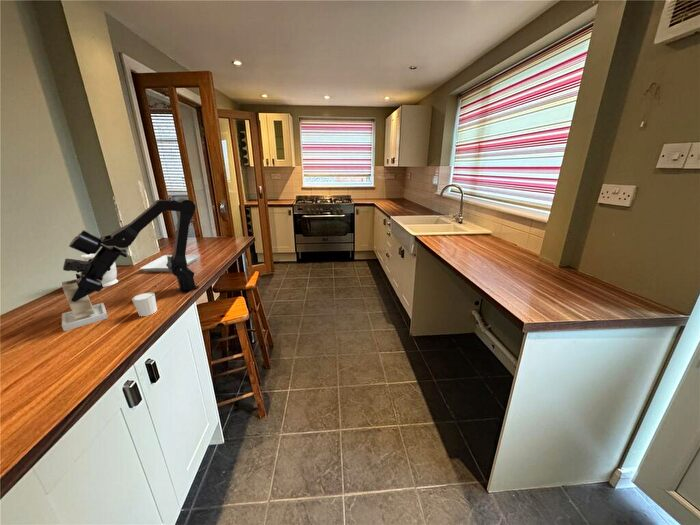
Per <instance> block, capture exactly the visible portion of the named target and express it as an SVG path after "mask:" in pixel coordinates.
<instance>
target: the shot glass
mask: <svg viewBox="0 0 700 525" xmlns="http://www.w3.org/2000/svg"><path fill="white" fill-rule="evenodd" d="M131 300H132V303H133V305H134V307H135V309H136V311H137V313H138V316H139V317H140V316H141V318H143V317H142V316H147V317H149V316H148V315H151V314H153V313H155V312H156V311H157V312H158V307H157V301H156V294H155V292H144V293H143V292H142V293H139V294H137V295H135V296H133V297H132V298H131ZM157 312H156V313H157ZM156 313H155V314H156ZM153 315H154V314H153ZM151 316H152V315H151Z"/></svg>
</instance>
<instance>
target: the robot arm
mask: <svg viewBox="0 0 700 525" xmlns="http://www.w3.org/2000/svg"><path fill="white" fill-rule="evenodd" d="M196 207H197V206H196V203H195V202H193V201H192V200H191V199H186V198H179V199H178V200H171V199H169V200H168V199H167V200H165V199H160V198H159V199H156V200H155V201H154V203H152V204H151V205H150V206H149V207H148V208H146V209H145V210H144V211H143V212H142V213H141V214H139V215H138V216H137V217H136V218H134V219H133V220H132V221H131V222H129V223H128V224H126V225H123V226H121V227H120V228H118V229H116V230H114V231H112V232H111V234H108V235H105V236H101V237H99V236H96V235H93V234H91V233H90V232H88V231H87V230H82V231H81V232H79V234H77V235H76V236H75V237H74V238H73V239H72V240H71V241H70V243H69V245H68V248H71V249H74V250H76V251H78V252H81V253H83V254H88V255H89V254H90V253H91V254H95V253H96V252H97V251H99V252H98V253H97V254H96V255H95V256H94V258H91V259H89V260H88V261H84V260H81V259H72V258H65V259H64V263H63V266H62V270H63V271H65V272H70V271H71V272H75V277H76V279H79V278H80V279H79V280H78V281H77V285H78V288H77V290H76V292H75V294H74V296H73V298H72V300H71V301H73V302H76V301H77V300H79V299H81V298H83V297H85V296H87V295H88V296H89V295H90V294H92V293H94V292H97V293H100V292H101V291H102V289H103V288H104V287H103V285H102V282H101V281H102V279H103V276H104V275H105V273H106V272H107V271H110V269H111V268H110V267H111V266H112V265H113V263H114V262H115V263H116V261H117V260H118V259H119V257H120V256H121V257H124V258H127V257H128V255H127V249H125V248H128V247H130V246H131V245H132V244H133V242H134V241H135V240H136V239H137V237H138V235H139V234H140V233H141V232H142V231H143V229H144V228H145V227H147V226H148V225H149V224H151V222H153V221H154V220H155V219H156V218H158V217H159V216H160V215H161V214H162V213H163V212H164V211H170V212H171V211H172V212H175V213H176V217H177V218H176V219H177V223H176V230H175V239H174V245H173V253H172V254H171V255H172V256H171V257H169V256H168V257H167V259H168V262H167V264H166V266H167V267H168V269H169V271H168V272H170V273H171V274H172V275H173V276H175V277H176V278H177V283H178V287H179V288H177V289H176V292H179V293H183V294H188V293H190V292H192V291H194V290H196V289H198V288H200V287H199V285H196V283H195V278H194V277H195V272H194V271H193V270H192V269H190V268H189V267H188V266H187V261H186V256H185V255H186V253H187V244H188V238H189V237H188V236H189V230H190V222H191V221H192V219H193V218H194V214H195V212H196ZM97 279H98V280H97ZM99 280H100V281H99Z"/></svg>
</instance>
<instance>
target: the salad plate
mask: <svg viewBox="0 0 700 525" xmlns="http://www.w3.org/2000/svg"><path fill="white" fill-rule="evenodd" d="M172 255H173V254H165V255H162V256H160V257H158V258H156V259H154V260H152V261H151V262H149V263H146V264H145V265H143V266H141V267H140V268H139V269H140V270H141V271H144V272H155V273H156V272H170V271H169V269H168V267H167V266H166V264H167V262H168V259H167V257H168V256H169V257H171V256H172ZM185 256H186V261H187V267H188V266H190V265H191V264H192V263H194V262H195V261H197V260H198V259H200V258H201V254H185Z"/></svg>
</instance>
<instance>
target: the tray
mask: <svg viewBox="0 0 700 525" xmlns="http://www.w3.org/2000/svg"><path fill="white" fill-rule="evenodd" d="M92 307H93V310H94V314H91V315H88V316H84V317H81V318H77V319H75V317H74V314H73V312H72V310H70V311H67V312H62V313H61V328H62V330H63V331H64V332H67V331H70V330H73V329H76V328H80V327H83V326H84V327H85V326H86V325H90V324H94V323H97V322H100V321H103V320H107V319H109V316H108V312H107V309H106V307H105V303H104V302H100V303H97V304H92Z"/></svg>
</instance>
